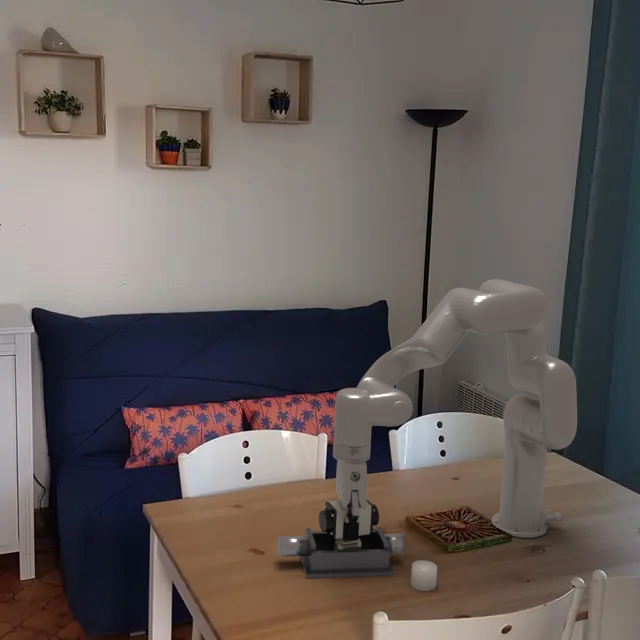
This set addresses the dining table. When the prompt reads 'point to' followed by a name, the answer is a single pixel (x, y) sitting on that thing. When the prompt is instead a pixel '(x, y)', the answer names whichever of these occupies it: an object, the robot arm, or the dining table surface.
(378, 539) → the pipe bracket
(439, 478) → the dining table surface
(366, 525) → the pneumatic valve
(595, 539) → the dining table surface
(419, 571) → the end cap
